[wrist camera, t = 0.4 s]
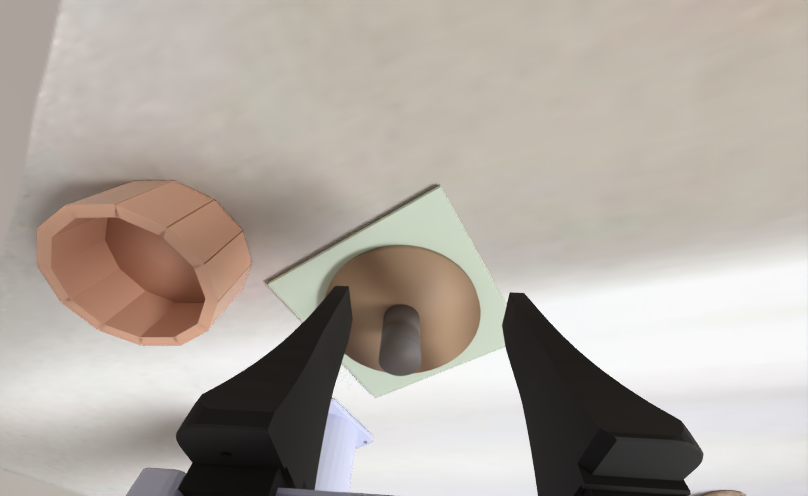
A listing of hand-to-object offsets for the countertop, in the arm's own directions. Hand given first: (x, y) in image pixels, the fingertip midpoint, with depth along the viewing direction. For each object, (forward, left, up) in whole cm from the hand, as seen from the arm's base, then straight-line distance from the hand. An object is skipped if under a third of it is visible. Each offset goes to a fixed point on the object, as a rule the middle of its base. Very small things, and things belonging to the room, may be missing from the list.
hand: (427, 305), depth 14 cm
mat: (-6, -6, -10) cm, 13 cm away
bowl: (-18, +8, -10) cm, 22 cm away
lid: (-6, -6, -10) cm, 13 cm away
